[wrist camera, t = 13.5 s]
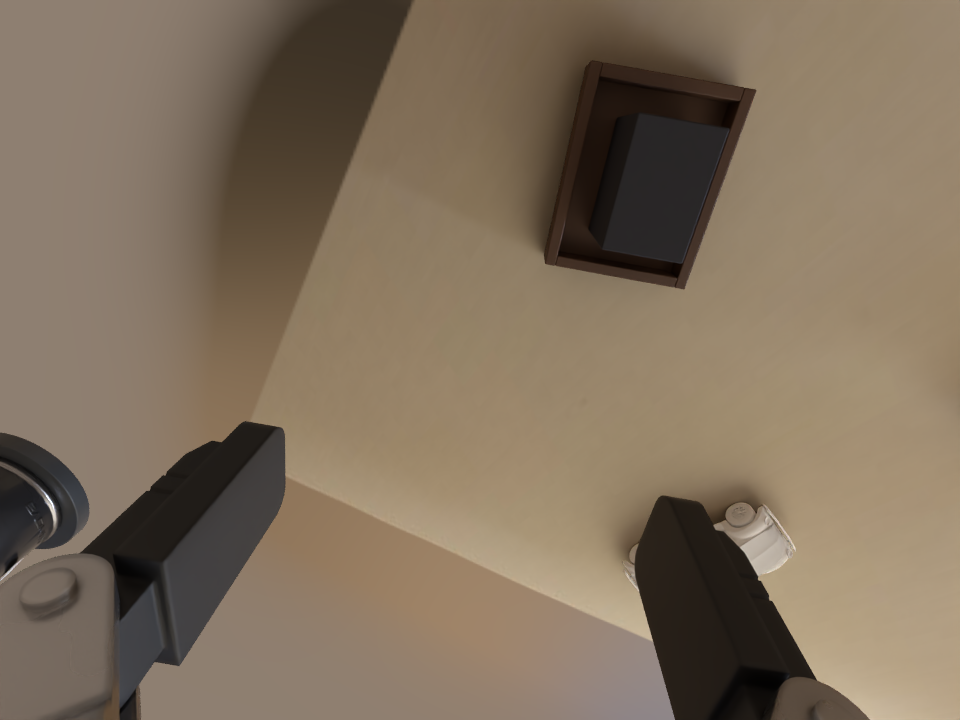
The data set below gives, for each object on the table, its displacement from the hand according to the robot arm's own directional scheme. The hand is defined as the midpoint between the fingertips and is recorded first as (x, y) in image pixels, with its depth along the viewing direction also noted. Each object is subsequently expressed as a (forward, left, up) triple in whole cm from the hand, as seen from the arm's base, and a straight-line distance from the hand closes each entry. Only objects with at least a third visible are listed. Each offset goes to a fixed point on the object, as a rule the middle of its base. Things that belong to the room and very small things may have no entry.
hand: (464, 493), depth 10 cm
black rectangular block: (+6, +6, -21) cm, 23 cm away
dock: (+6, +6, -22) cm, 23 cm away
